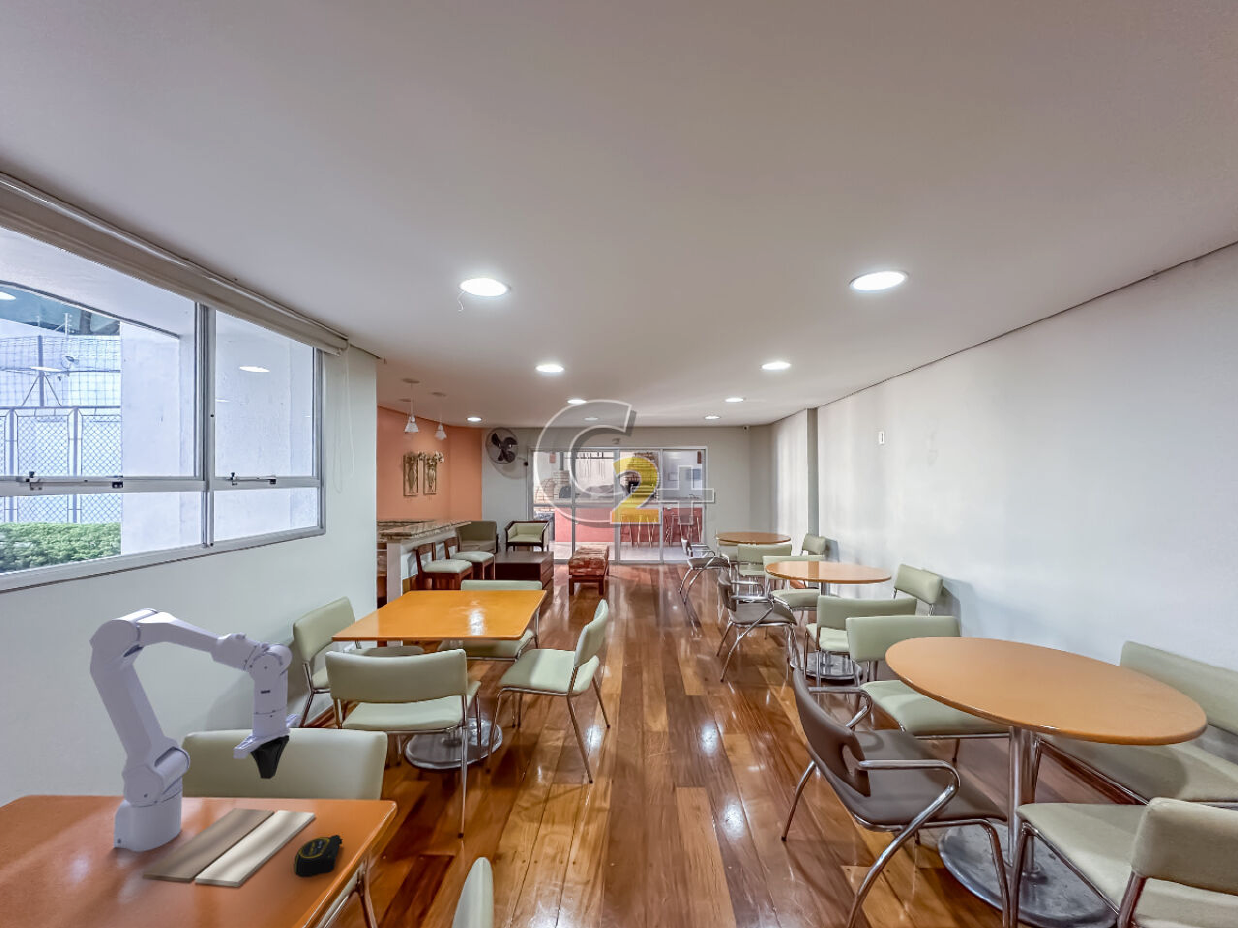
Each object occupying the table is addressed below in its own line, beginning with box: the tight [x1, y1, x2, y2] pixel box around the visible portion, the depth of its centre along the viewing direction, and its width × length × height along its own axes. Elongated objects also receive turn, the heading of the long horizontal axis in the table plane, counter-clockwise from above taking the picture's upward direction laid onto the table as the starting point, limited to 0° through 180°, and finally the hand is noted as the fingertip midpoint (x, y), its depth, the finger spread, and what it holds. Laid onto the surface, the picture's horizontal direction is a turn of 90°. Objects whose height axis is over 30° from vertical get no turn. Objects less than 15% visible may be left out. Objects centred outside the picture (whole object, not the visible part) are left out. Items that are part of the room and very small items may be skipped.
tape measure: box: [293, 834, 344, 878], centre depth 89 cm, size 7×7×4 cm
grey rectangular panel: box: [142, 807, 275, 883], centre depth 94 cm, size 9×18×2 cm, turn 173°
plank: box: [194, 809, 316, 888], centre depth 93 cm, size 8×18×2 cm, turn 174°
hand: (267, 776), depth 101 cm, fingers closed
